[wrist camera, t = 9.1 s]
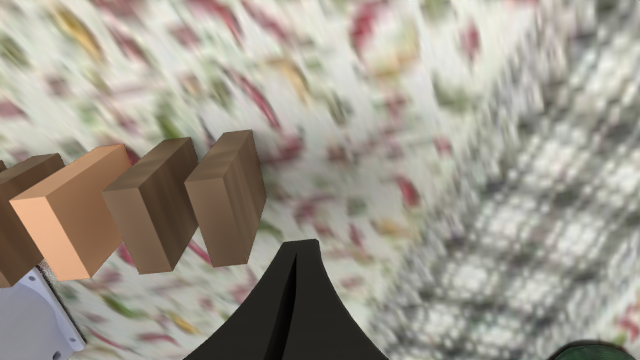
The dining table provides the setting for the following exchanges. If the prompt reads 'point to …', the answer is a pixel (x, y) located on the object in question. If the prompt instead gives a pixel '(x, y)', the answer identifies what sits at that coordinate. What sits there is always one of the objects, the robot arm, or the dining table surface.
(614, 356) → the coffee jar
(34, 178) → the domino
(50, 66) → the dining table surface
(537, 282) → the dining table surface
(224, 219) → the domino
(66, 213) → the domino
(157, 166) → the domino
